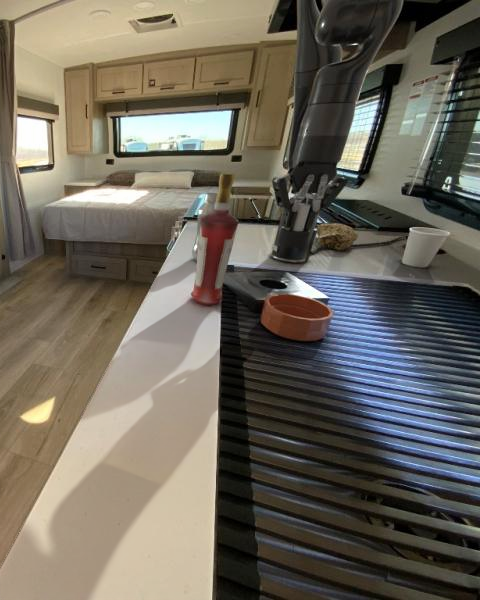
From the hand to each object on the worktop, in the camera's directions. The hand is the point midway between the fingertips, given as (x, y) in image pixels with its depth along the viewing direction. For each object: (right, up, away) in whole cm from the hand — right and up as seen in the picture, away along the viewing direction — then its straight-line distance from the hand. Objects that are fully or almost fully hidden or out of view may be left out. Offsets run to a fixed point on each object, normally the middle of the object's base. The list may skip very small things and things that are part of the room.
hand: (295, 229), depth 67 cm
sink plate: (+2, -13, +13) cm, 19 cm away
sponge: (+46, +6, +51) cm, 69 cm away
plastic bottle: (-5, -2, +36) cm, 37 cm away
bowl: (-1, -20, -1) cm, 20 cm away
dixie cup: (+56, -4, +31) cm, 64 cm away
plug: (0, -3, +1) cm, 3 cm away
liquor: (-14, -15, +11) cm, 23 cm away
